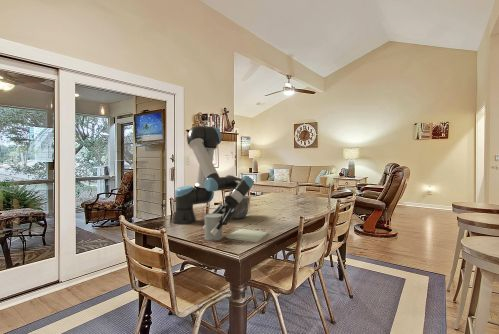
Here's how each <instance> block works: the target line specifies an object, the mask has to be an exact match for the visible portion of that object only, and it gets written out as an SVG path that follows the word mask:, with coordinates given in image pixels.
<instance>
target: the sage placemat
mask: <svg viewBox="0 0 499 334" xmlns="http://www.w3.org/2000/svg"><path fill="white" fill-rule="evenodd" d="M268 235H269V232H267V231H260V230H259V231H258V230H253V229H244V228H239V229H236V230H235V231H233V232H231V233H229V234H227V235H226V236H225V238H226V239H230V240H231V239H232V240H237V241H245V242H252V243H258V242H259V241H261V240H262V239H264V238H265V237H266V236H268Z"/></svg>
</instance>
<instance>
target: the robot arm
mask: <svg viewBox="0 0 499 334" xmlns="http://www.w3.org/2000/svg"><path fill="white" fill-rule="evenodd" d="M222 137H223V136H222V133H221V131H220V129H219V128H218V127H214V126H207V125H205V126H204V125H194V126H193V127H191V128H190V129H189V131H188V132H187V135H186V141H187V145H188V148H189V149H191V150H192V151H193V154H194V156H195V157H196V160H197V162H198V165H199V166H198V174H197V181H196V182H195V183H194V187H193V185H183V186H180V187H177V188H175V191H174V201H175V202H174V204H175V209H174V210H175V211H174V213H173V217H172V223H173V224H177V225H188V224H192V223H195V222H197V217H196V215H195V211H194V206H195V205H201V204H208V203H210V202H211V201H213V199H214V196H215V192H216V191H217V192H219V191H227V190H231V191H230V193H229V194H228V195H229V196H227V195H226V196H227V198H226V199H225V198H224V203H220V204H219V205H218V206H217V207H216V208H215V210H213V211H212V212H211V213H210V214H212V213H217V214H222V218H221V220H220V221H219V222H220V223H219V222H218V223H217V225H216V226H215V227H214V228H213V230H212V231H211V233H212V234H213V235H214V236H215V234H216V233H217V232H218V231H219V229H220V228H221V227H222V228H223V226H227V224H228V223H229V222H230V219H231V218H232V217H231V216H232V214H233V213H234V212H235V210H234V209H235V208H236V207H237V205H238V203H240V201H241V200H242V199H243V197H244V196H247V193H248V192H249V191H250V190H251V189H252V188H253V186H254V184H255V182H254V180H253V179H252V178H251V177H250V176H249V175H243V177H242V178H240V177H238V176H237V177H236V176H235V175H231V174H228V175H226V176H222V177H220V175H219V173H218V171H217V169H216V166H215V165H214V163H213V161H214V156H215V155H214V153H215V150H216V149H217V148H218V145H219V144H221V142H222ZM233 208H234V209H233ZM202 229H203V230H204V231H205V224H204V225H203V226H202Z"/></svg>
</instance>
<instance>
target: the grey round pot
mask: <svg viewBox="0 0 499 334" xmlns="http://www.w3.org/2000/svg"><path fill="white" fill-rule="evenodd" d="M227 196H229V194H228V195H225V196H224V200H225V199H226V198H227ZM249 198H250V197H249V195H248V196H247V195H245V196H244V197H243V199H242V200H241V201H240V203H238V205H237V207H236V208H235V209H234V208H233V209H234V210H235V212H234V213H233V214H232V216H231V217H230V218H232V219H242V218H245V217H247V215H248V213H249Z"/></svg>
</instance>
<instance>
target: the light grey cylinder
mask: <svg viewBox="0 0 499 334" xmlns="http://www.w3.org/2000/svg"><path fill="white" fill-rule="evenodd" d="M211 213H212V212H211ZM211 213H207V214H205V215H204V225H205V230H204V239H205V240H206V241H211V242H213V241H214V242H215V241H220V240H222V239H223V226H222V227H221V228H220V229H219V231H218V232H217V233H216V234H215V236H214V235H213V234H212V233H211V231H212V230H213V228H214V227H215V226H216V225H217V223H218V222H219V221H220V220H221V218H222V215H223V214H217V213H212V214H211ZM219 223H220V222H219Z"/></svg>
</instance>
